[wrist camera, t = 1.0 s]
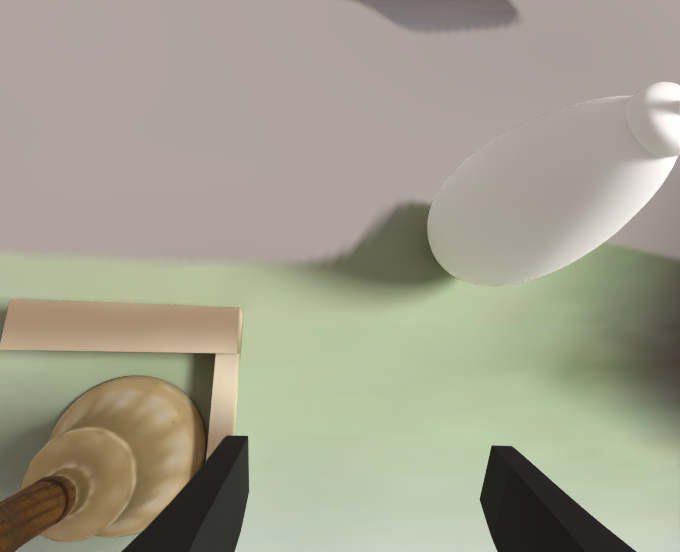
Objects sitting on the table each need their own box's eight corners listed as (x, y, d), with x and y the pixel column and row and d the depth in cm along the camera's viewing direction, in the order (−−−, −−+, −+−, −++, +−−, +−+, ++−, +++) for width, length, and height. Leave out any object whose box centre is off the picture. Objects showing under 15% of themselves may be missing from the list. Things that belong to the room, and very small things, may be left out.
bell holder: (220, 609, 19) (211, 654, 16) (-19, 633, 17) (-77, 688, 14) (243, 313, 23) (238, 307, 20) (46, 306, 21) (9, 298, 18)
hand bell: (7, 477, 19) (-1133, 996, 4) (123, 347, 21) (-271, 325, 6) (134, 568, 19) (-441, 1446, 4) (235, 429, 21) (138, 617, 6)
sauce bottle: (472, 185, 28) (793, -91, 11) (519, 275, 27) (956, 132, 10) (386, 217, 26) (608, -56, 9) (433, 316, 25) (786, 227, 8)
